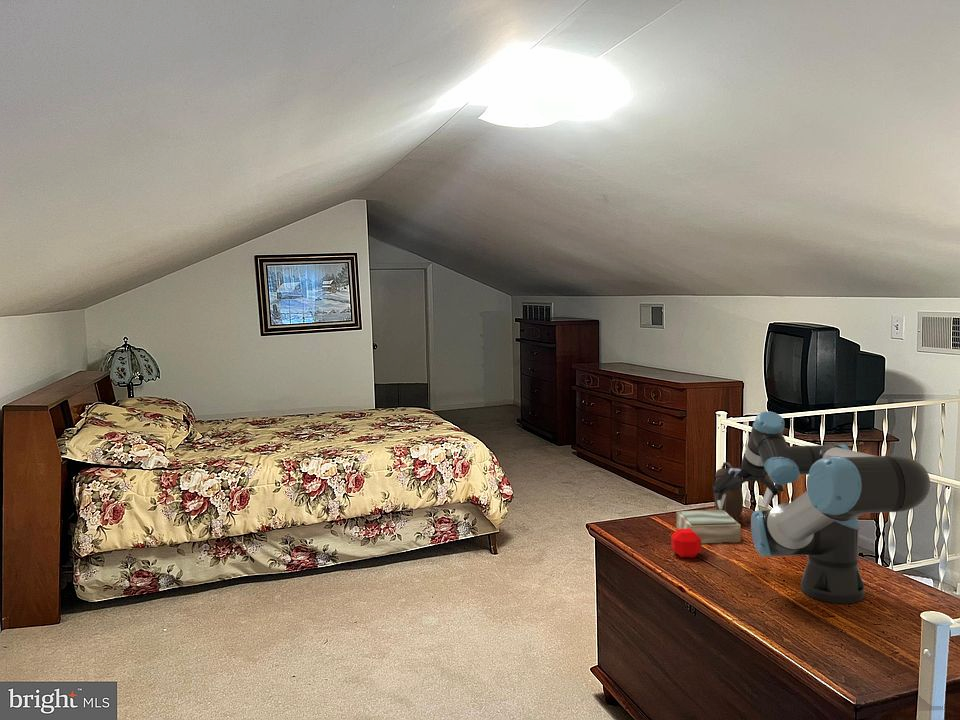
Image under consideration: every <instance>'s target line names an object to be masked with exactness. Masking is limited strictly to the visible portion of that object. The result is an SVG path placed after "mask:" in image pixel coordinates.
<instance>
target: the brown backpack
mask: <svg viewBox="0 0 960 720" xmlns="http://www.w3.org/2000/svg"><path fill="white" fill-rule="evenodd" d="M722 463H723V464H722V465H721V468H719V469H717V470H716V472H715V475H714V477H715V481H714V483H715V482H716V481H717V480H718V479H719V478H720V477H721V476H722V475H724V474H725V473H726V472H727V470H728V468H729V467H730V466H732V464H731V463H729V462H725V461H724V462H722ZM727 467H728V468H727ZM741 485H742V484H739V485H737V486H735V487H734V488H732V489H731V490H729V491H727V492H726V497H725V500H724V504H723V507H722V509H719V506H718V503H717V497H716V494H717V493H714V492H713V499H714V505H715V510H724V511H725V512H726V513H727V514H729V515H730V516H731V517H732V518H733V519H735V521H736V522H738V523H739V517H741V515H742V512H743V508H744V496H743V495H744V494H743V489H742V486H741Z"/></svg>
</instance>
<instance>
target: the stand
mask: <svg viewBox="0 0 960 720" xmlns="http://www.w3.org/2000/svg"><path fill="white" fill-rule="evenodd" d="M675 513H676V530H677V529H692V530H693V531H694V532H695V533H696V534H697V535H698V536H699V537H700V538H701V544H718V543H719V544H723V543H722V542H729V543H741V535H742V534H741V532H742V531H741V527H742V526H741V524H740V523H739V521H738V522H737V521H736V519H735V518H732V517H731V516H730V515H729V514H727V513H726V512H725V511H724V510H716V509H712V510H711V509H708V510H707V509H706V510H705V509H704V510H703V509H701V510H680V511H676V512H675Z"/></svg>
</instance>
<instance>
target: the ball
mask: <svg viewBox="0 0 960 720" xmlns="http://www.w3.org/2000/svg"><path fill="white" fill-rule="evenodd" d="M670 537H671V538H670V541H671V542H670V544H671V545H670V546H671V549H672V550H673V551H674V552H675V553H676V554H677V555H678V556H679V557H680V558H683V557H689V558H695V557H697V555H698V554H699V553H700V552H701V551H702V543H701V538H700V537H699V536H698V535H697V534H696V533H695V532H694V531H693V530H692V529H677V528H676V530H675V531H674V532H673V533H672V534H671V536H670Z"/></svg>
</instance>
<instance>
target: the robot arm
mask: <svg viewBox="0 0 960 720" xmlns="http://www.w3.org/2000/svg"><path fill="white" fill-rule="evenodd" d="M784 431H785V420H784V417H782V415H781V414H779V413H776V412H773V411H762V412H760V413H758V414H757V415H756V417H755V419H754V422H753V423H752V428H751V431H750V434H749V436H748V437H749V438H748V442H747V445H746V448H745V451H744V453H743V456H742V460H741V464H740V467H738V468H735V467H734V466H733V465H731V466H730V467H728V468H727V469H728V470H727V472H726V473H725V474H724V475H722V476H721V477H720V478H719V479H718V480H717V481H716V482H715V481H714V483H713V484H712V485H711V487H712V491H713V494H714V493H717V494H716V497H717V503H718V506H719V509H722V507H723V504H724V500H725V497H726V492H727V491H729V490H731V489H732V488H734V487H735V486H737V485H739V484H740V485H743V484H744V483H745V482H746V483H747V482H750V483H751V482H758V481H760V482H761V483H762V484H764V485H765V486H766V489H765V492H764V495H763V498H762V504H763V506H764V508H765V509H767V510H763V509H759V510H755V511H753V512H752V514H751V516H750V528H751V529H750V531H751V536H752V537H751V538H752V542H753V545H754V548H755V551H756V553H758V555H759V556H762V557H770V558H772V557H788V556H791V557H793V556H808V560H807V563H806V566H805V568H804V571H803V574H802V577H801V580H800V589H801V591H802V592H803V593H804V594H805V595H806V596H808V597H810V598H813V599H816V600H819V601H822V602H827V603H831V604H833V603H834V604H854V603H859V602H861V601H862V600H864V599H865V596H866V594H865V593H866V592H865V591H866V588H865V587H866V586H865V585H864V581H863V579H862V576H861V572H860V569H859V564H858V563H859V562H858V560H859V559H858V557H859V530H860V526H859V516H861V515H863V514H869V513H870V514H874V513H876V514H877V513H878V514H879V513H901V512H906V511H909V510H912V509H914V508H916V507H918V506H919V505H920V504H922V503H923V502H924V501H925V499H926V498H927V496H928V495H929V494H930V488H931V480H930V475H929V473H928V471H927V470H926V468H925V467H924V466H923V465H922V464H921V463H920V462H919V461H917V460H916V459H914V458H910V457H907V456H901V455H875V454H871V453H870V454H869V453H865V452H860V451H854V450H851V449H850V447H849V446H847V445H846V444H837V443H836V444H833V443H832V444H825V445H824V444H823V445H822V444H821V445H820V444H819V445H790V446H789V445H788V442H787V441H786V439H785V436H784V434H783V433H784ZM767 476H768V477H769V478H768V477H767ZM800 476H807V477H806V491H804V493H802V494H801V495H799V496H798V497H797V498H795V499H794V500H793V501H792V502H783V503H780V504H777V505H775V506H774V507H773V508H771V509H768V507H769V506H770V502H771V500H774V498H775V496H777V495H778V494H779V493H778V492H781V493H782V492H784V487H783V486H786V485H788V484H792V483H794V482H795V481H797V480H798V478H799V477H800Z"/></svg>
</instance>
